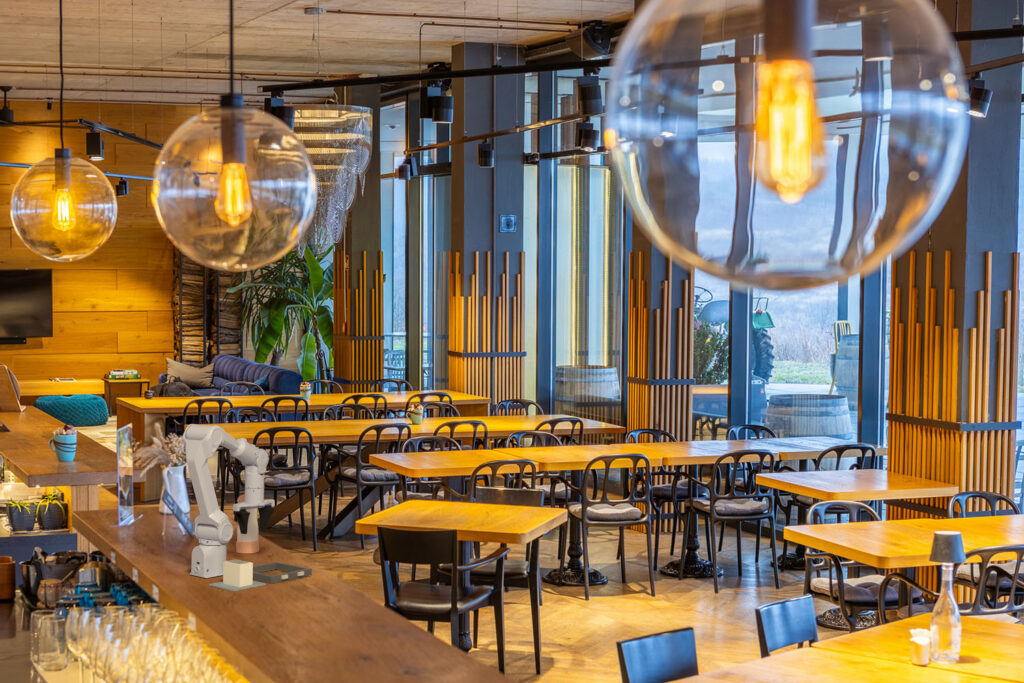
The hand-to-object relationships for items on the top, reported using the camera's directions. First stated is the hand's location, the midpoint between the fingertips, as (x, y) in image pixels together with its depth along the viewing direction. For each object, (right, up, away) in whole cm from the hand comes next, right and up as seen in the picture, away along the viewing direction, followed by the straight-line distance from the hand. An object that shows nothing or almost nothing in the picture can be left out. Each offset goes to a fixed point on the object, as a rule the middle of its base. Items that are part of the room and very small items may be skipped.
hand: (253, 532), depth 347 cm
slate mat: (+3, -10, -31) cm, 33 cm away
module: (+3, -9, -31) cm, 32 cm away
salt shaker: (-6, -10, +18) cm, 22 cm away
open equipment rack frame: (+10, -10, -18) cm, 23 cm away
